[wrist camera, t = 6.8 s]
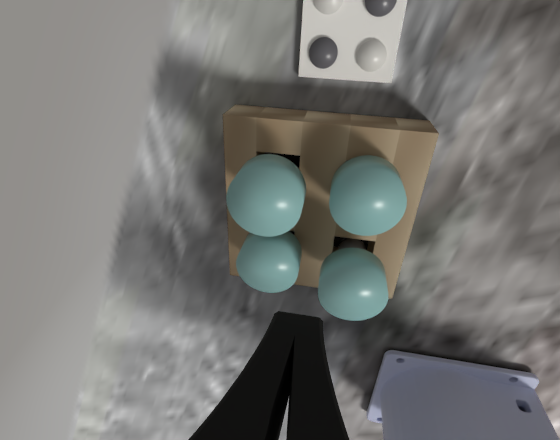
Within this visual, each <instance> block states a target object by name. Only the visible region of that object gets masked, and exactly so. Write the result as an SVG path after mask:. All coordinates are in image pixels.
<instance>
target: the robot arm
mask: <svg viewBox="0 0 560 440" xmlns="http://www.w3.org/2000/svg"><path fill="white" fill-rule="evenodd" d="M538 384H539V380H538V378H537V376H536V375H535V374H533V373H529V372H523V371H517V370H511V369H505V368H499V367H493V366H487V365H481V364H475V363H469V362H462V361H456V360H450V359H444V358H438V357H432V356H426V355H420V354H414V353H408V352H402V351H396V350H389V351H387V352H385V354H384V357H383V360H382V363H381V367H380V370H379V373H378V377H377V380H376V383H375V387H374V390H373V393H372V397H371V400H370V403H369V407H368V410H367V419H368V420H370V421H372V422H377V423H382V427H383V439H384V440H559V438H558V436H557V434H556V432H555V430H554V428H553V426H552V424H551V422H550V420H549V418H548V416H547V414H546V412H545V410H544V408H543V406H542V404H541V402H540V400H539V398H538V396H537V394H536V392H535V390H534V389H535V388H536V386H537V385H538ZM288 398H289V408H288V424H287V439H286V440H349V437H348V434H347V431H346V428H345V425H344V422H343V419H342V416H341V412H340V409H339V406H338V402H337V399H336V395H335V391H334V387H333V383H332V379H331V375H330V371H329V367H328V362H327V357H326V351H325V345H324V337H323V321H322V320H321V319H320V318H318V317H312V316H305V315H299V314H293V313H286V312H280V311H278V312H277V313H275V314H274V317H273V319H272V321H271V323H270V325H269V327H268V329H267V331H266V333H265V335H264V337H263V339H262V340H261V342H260V344H259V346H258V347H257V349H256V351H255V352H254V354H253V355H252V357H251V358H250V360H249V361H248V363H247V365H246V366H245V368H244V369H243V371H242V372H241V374H240V375H239V376H238V378H237V379H236V381H235V382H234V383H233V385H232V386H231V387H230V389H229V390H228V392H227V393H226V394H225V396H224V397H223V398H222V400H221V401H220V402H219V404H218V405H217V406H216V407H215V409H214V410H213V411H212V412H211V414H210V415H209V416H208V417H207V419H206V420H205V421H204V422H203V423H202V425H201V426H200V427H199V428H198V429H197V430H196V432H195V433H194V434H193V435H192V436H191V437H190V438H189V440H278V439H279V435H280V431H281V427H282V423H283V419H284V414H285V410H286V406H287V402H288Z"/></svg>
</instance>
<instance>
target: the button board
mask: <svg viewBox="0 0 560 440" xmlns="http://www.w3.org/2000/svg"><path fill="white" fill-rule="evenodd" d="M223 133H224V155H225V177H226V195H227V190H228V187H229V185H230V183H231V182H232V180H233V179H234V178H235V176H236V175H237V173H238V172H239V170H240V169H241V168H242V166H243V165H244V164H245V163H246V162H247V161H248V160H250V159H251V158H253V157H255V156H258V155H262V154H265V152H269V153H279V154H290V155H300V166H299V170H300V171H301V173H302V174H303V177H304V179H305V183H306V196H305V200H304V204H303V208H302V212H301V216H300V218H299V220H298V222H297V223H296V225H295V226H294V227H293V228H292V229H290V231H295V233H294V236H295V237H296V238H297V239H298V241H299V243H300V245H301V248H302V257H301V262H300V267H299V272H298V277H297V279H296V281H295V283H294V284H295V285H302V286H309V287H316V288H318V286H319V277H320V269H321V265H322V263H323V261H324V260H325V258H326V257H327V256H328V255H330V254H331V253H333V252H335V251H337V250H338V247H334V246H333V243H334V236H337V237H345V238H353V239H361V240H368V241H369V243H368V247H367V251H369V252H371V253H373V254H374V255H376V256H377V257H378V258H379V259H380V260H381V262H382V263H383V265H384V268H385V274H386V281H387V288H388V298H391V299H392V297H393V294H394V290H395V287H396V283H397V280H398V276H399V273H400V269H401V266H402V262H403V258H404V255H405V251H406V248H407V244H408V241H409V237H410V234H411V230H412V227H413V223H414V220H415V216H416V213H417V209H418V206H419V202H420V198H421V195H422V191H423V188H424V184H425V181H426V177H427V174H428V170H429V167H430V163H431V160H432V156H433V153H434V149H435V146H436V142H437V138H438V135H439V133H438V132H437V130H436V129H435V128H434V126H433V125H432V124H431V122H430V121H429V120H417V119H405V118H392V117H380V116H368V115H356V114H344V113H332V112H320V111H307V110H295V109H283V108H271V107H259V106H247V105H234V106H233V107H232V108H231V109H229V110H228V111H227V112H225V113H224V114H223ZM364 155H372V156H378V157H381V158H383V159H386V160H387V161H389V162H390V163H391V164H393V165H394V166H395V168H396V169H397V170H398V172H399V174H400V177H401V180H402V183H403V186H404V189H405V193H406V197H407V206H406V210H405V213H404V215H403V217H402V218H401V220H400V221H399V222H398V223H397V224H396V225H395V226H394V227H393V228H391V229H390V230H388V231H386V232H384V233H381V234H377V235H372V236H361V235H356V234H352V233H350V232H348V231H346V230H344V229H343V228H341V227H340V226H339V225H338V224H337V223H336V222H335V220H334V219H333V217H332V215H331V212H330V208H329V199H330V190H331V182H332V179H333V176H334V174H335V172H336V171H337V169H338V168H339V167H340V166H341V165H342V164H344V163H345V162H346V160H350V159H352V158H355V157H358V156H364ZM227 221H228V243H229V265H230V275H234V276H240V275H239V274H238V271H237V268H236V260H237V256H238V254H239V252H240V250H241V248H242V245H243V243H244V241H245V239H246V237H247V235H248V234H249V233H250V232H248V231H246V230H245V229H243V228H242V227H241V226H239V225H238V224H237V223H236V221H235V220H234V219H233V218H232V216H231V214H230V212H229V210H228V207H227Z"/></svg>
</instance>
